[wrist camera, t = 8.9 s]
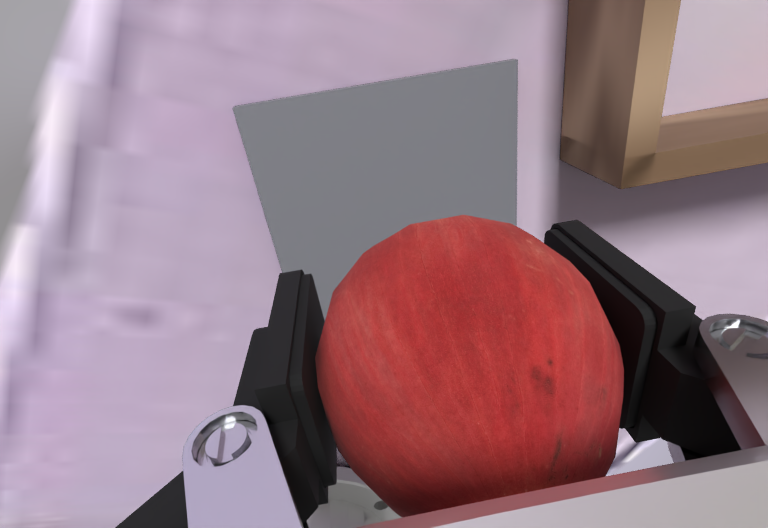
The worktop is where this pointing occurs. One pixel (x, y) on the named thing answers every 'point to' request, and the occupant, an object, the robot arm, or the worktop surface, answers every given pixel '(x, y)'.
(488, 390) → the onion
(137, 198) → the worktop surface
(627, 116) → the tan u-shaped frame
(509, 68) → the mat
